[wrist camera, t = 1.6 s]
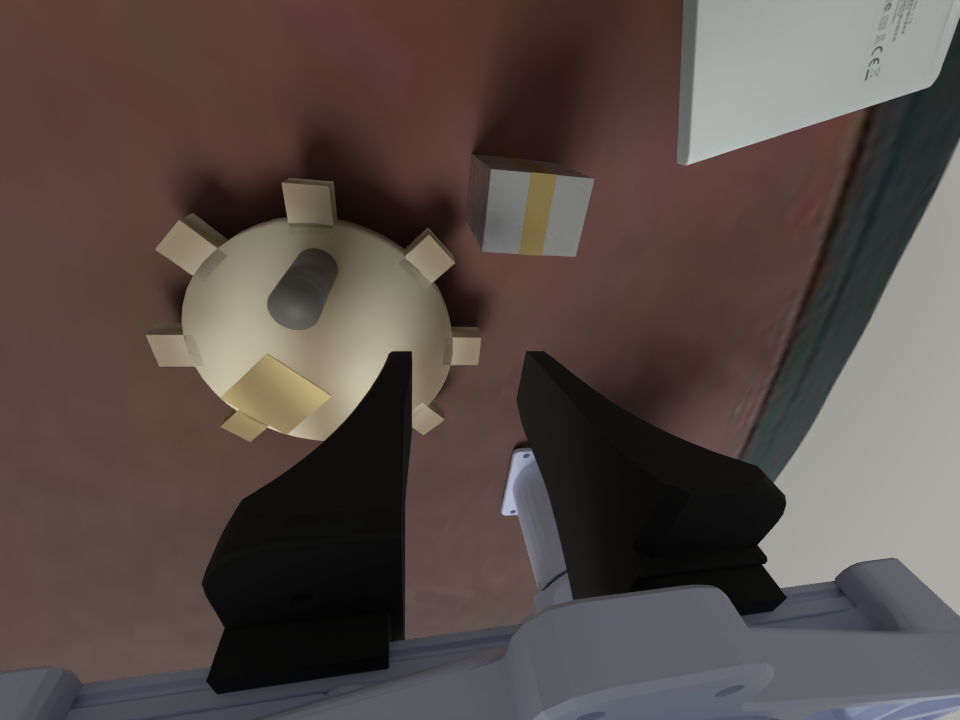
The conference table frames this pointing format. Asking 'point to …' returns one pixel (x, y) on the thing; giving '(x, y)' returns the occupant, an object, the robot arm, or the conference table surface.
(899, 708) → the robot arm
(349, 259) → the sprocket
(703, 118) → the external hard drive
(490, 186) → the white small box
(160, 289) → the conference table surface
